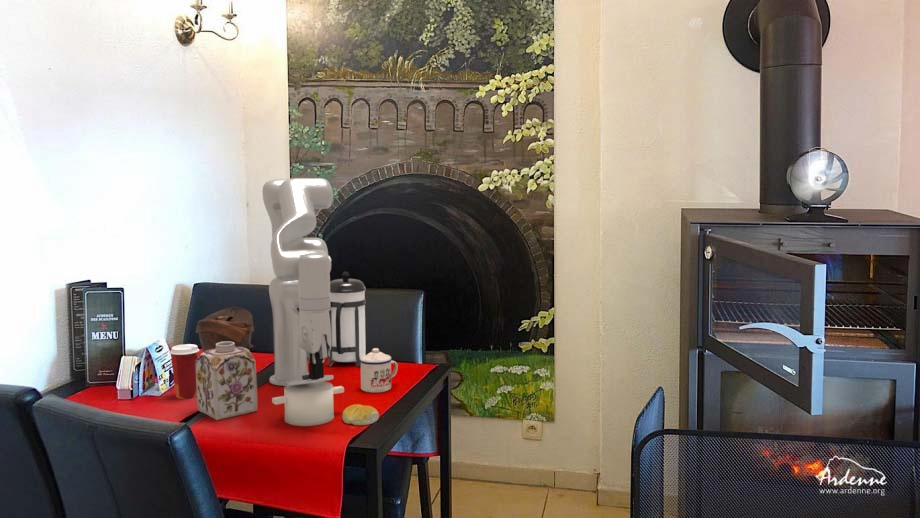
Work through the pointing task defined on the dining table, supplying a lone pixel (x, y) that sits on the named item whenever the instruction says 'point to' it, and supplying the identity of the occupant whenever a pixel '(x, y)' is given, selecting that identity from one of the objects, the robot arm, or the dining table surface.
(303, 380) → the lid
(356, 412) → the bread roll
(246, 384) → the decorative jar
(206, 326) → the case
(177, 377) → the paper cup
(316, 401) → the pot
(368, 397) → the dining table surface
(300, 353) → the robot arm
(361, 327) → the coffee press
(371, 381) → the teacup with lid
